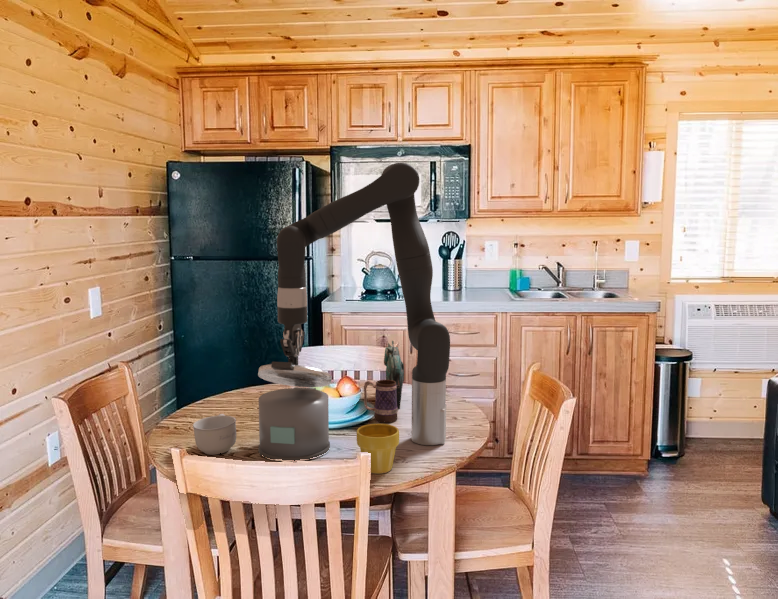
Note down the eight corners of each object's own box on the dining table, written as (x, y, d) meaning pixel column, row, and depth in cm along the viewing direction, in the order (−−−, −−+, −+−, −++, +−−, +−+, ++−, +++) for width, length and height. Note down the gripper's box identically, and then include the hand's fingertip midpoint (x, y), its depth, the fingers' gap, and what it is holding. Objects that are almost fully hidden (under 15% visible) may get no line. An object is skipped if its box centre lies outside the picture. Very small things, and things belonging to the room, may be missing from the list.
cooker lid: (338, 388, 173) (339, 377, 174) (318, 369, 153) (320, 357, 154) (271, 385, 176) (273, 374, 177) (243, 366, 156) (245, 354, 157)
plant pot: (347, 470, 153) (347, 431, 152) (372, 457, 162) (372, 420, 160) (383, 481, 147) (383, 440, 146) (407, 466, 156) (407, 428, 155)
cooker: (338, 437, 176) (337, 388, 174) (318, 465, 156) (318, 410, 155) (274, 433, 179) (273, 385, 177) (247, 460, 160) (245, 406, 158)
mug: (397, 416, 195) (398, 378, 194) (397, 423, 188) (397, 384, 186) (364, 415, 195) (364, 377, 194) (362, 423, 188) (362, 383, 187)
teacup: (226, 459, 160) (225, 429, 159) (186, 456, 162) (185, 426, 161) (247, 440, 174) (247, 412, 172) (210, 437, 175) (209, 409, 174)
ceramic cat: (383, 392, 221) (383, 336, 218) (401, 392, 221) (402, 336, 218) (386, 410, 201) (386, 348, 198) (406, 409, 201) (407, 348, 199)
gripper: (298, 308, 156) (299, 377, 158) (313, 301, 168) (314, 365, 171) (269, 307, 157) (270, 376, 159) (286, 300, 170) (287, 363, 172)
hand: (293, 370), depth 165 cm, fingers closed
